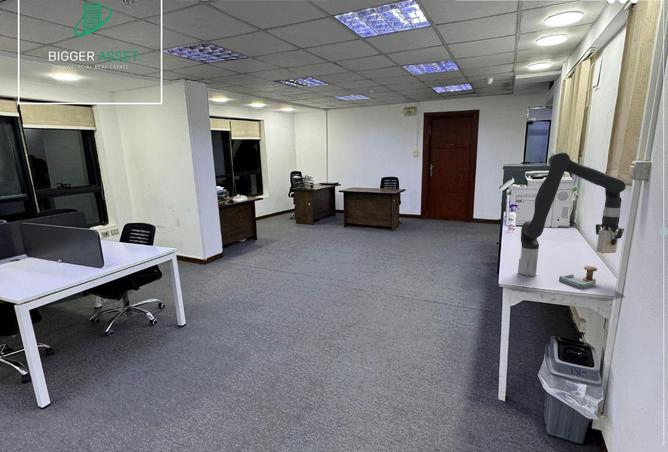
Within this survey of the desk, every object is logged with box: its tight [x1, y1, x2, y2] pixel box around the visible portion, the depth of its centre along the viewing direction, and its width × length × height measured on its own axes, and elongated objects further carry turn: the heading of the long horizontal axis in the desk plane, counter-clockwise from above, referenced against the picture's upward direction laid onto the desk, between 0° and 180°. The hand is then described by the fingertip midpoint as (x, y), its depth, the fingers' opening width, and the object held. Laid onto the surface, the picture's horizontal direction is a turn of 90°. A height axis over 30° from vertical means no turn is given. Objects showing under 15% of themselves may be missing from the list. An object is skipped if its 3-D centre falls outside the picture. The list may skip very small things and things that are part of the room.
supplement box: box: [595, 229, 619, 254], centre depth 191 cm, size 8×5×13 cm, turn 93°
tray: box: [558, 273, 596, 290], centre depth 190 cm, size 10×13×3 cm
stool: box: [582, 265, 598, 283], centre depth 193 cm, size 6×6×8 cm
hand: (607, 243), depth 191 cm, fingers closed on supplement box, 5 cm apart
